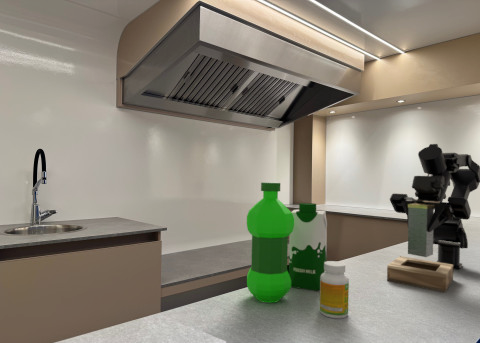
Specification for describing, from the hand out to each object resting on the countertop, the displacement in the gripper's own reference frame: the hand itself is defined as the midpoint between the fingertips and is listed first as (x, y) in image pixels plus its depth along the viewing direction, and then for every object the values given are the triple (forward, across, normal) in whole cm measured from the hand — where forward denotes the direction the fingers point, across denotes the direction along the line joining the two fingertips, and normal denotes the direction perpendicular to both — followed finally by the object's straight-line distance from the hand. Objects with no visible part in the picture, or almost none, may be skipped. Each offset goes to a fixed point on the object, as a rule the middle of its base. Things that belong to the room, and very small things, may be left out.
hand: (418, 229), depth 87 cm
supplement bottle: (+34, -2, -16) cm, 38 cm away
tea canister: (+4, 0, +6) cm, 7 cm away
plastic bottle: (+37, -15, -19) cm, 44 cm away
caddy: (+8, 0, +10) cm, 13 cm away
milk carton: (+27, -16, -9) cm, 33 cm away
